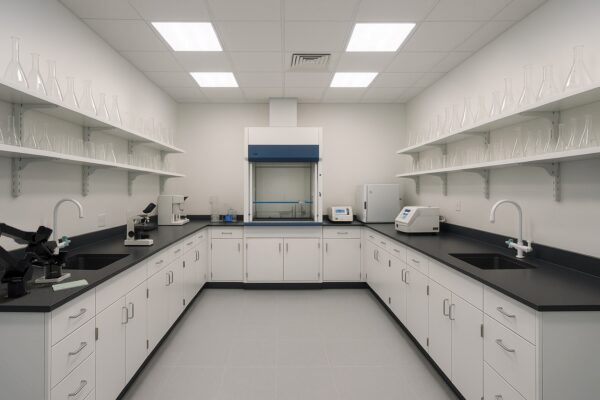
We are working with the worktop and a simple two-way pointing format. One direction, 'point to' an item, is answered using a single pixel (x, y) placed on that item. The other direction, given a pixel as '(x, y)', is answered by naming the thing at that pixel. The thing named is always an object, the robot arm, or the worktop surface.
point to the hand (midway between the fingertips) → (54, 266)
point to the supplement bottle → (52, 270)
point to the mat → (69, 285)
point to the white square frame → (43, 280)
